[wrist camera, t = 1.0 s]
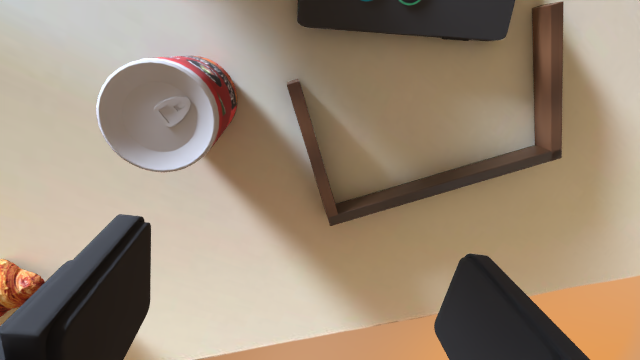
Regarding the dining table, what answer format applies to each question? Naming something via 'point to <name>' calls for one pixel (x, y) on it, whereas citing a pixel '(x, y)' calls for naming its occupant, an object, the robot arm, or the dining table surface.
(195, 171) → the dining table surface
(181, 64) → the canned food
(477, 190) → the dining table surface
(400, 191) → the dock
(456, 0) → the smart home device
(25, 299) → the croissant
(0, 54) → the dining table surface
